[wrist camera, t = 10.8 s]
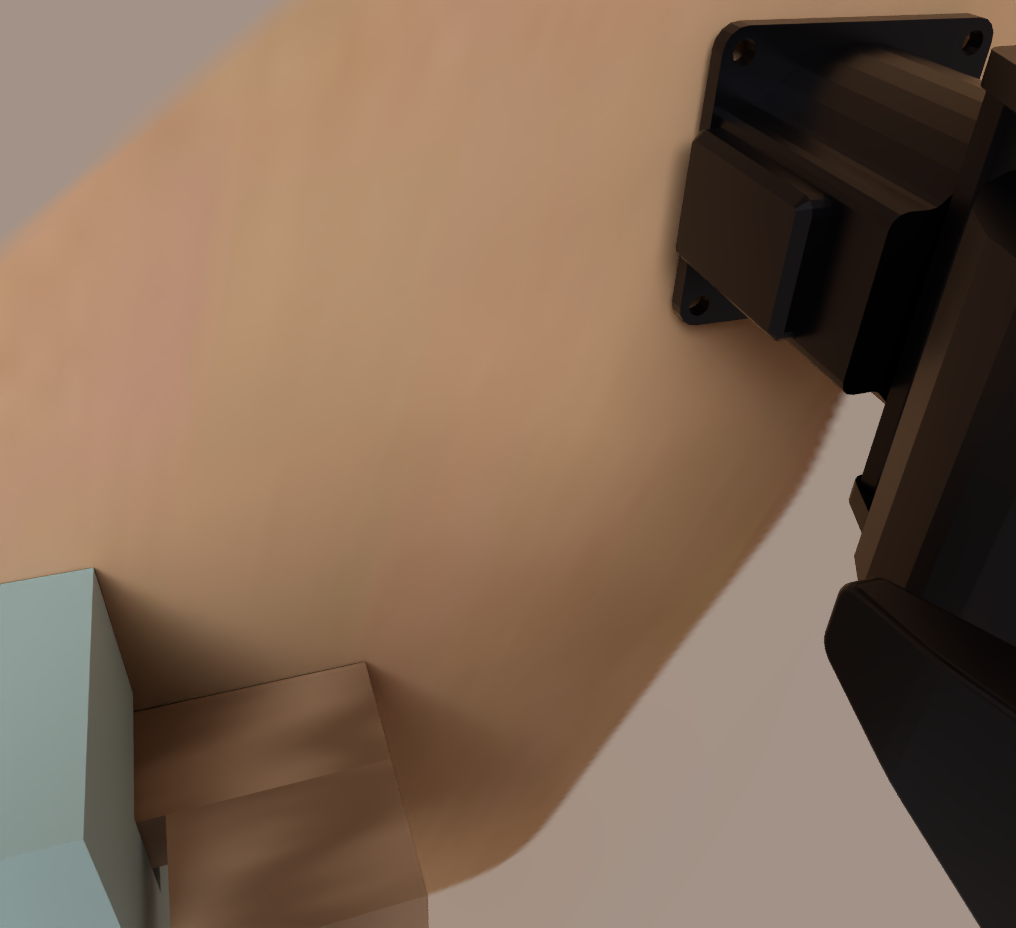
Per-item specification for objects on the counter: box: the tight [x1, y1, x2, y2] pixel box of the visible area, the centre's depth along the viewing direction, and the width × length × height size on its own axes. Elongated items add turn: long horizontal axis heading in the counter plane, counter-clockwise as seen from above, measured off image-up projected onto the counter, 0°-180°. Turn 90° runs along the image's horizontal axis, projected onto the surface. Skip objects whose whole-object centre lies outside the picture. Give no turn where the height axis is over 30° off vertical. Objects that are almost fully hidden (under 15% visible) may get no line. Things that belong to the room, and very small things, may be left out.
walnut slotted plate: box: [133, 662, 429, 928], centre depth 22 cm, size 14×2×7 cm, turn 87°
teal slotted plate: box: [0, 568, 170, 928], centre depth 22 cm, size 12×2×7 cm, turn 177°
